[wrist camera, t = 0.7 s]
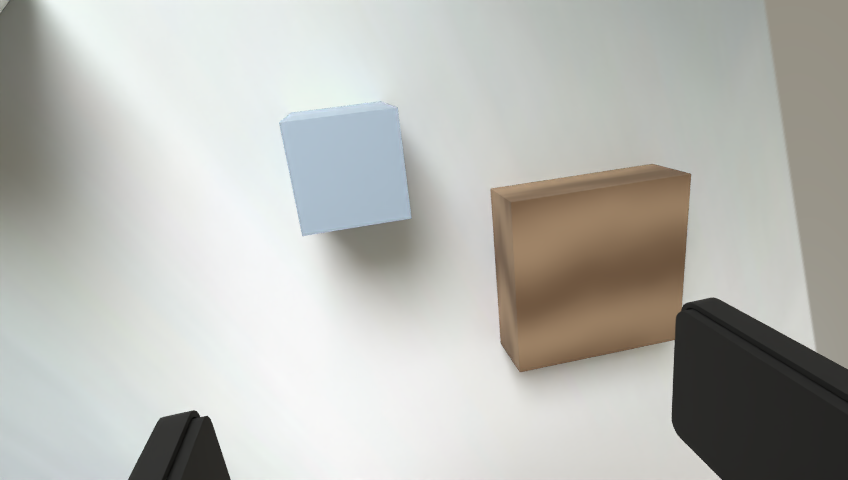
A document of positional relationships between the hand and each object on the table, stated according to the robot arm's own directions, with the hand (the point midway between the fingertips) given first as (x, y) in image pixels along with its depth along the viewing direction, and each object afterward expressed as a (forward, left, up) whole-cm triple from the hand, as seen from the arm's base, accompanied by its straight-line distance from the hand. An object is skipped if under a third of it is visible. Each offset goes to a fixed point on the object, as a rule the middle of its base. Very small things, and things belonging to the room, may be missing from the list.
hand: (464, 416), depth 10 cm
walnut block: (+6, +13, -21) cm, 25 cm away
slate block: (-3, -1, -21) cm, 21 cm away
